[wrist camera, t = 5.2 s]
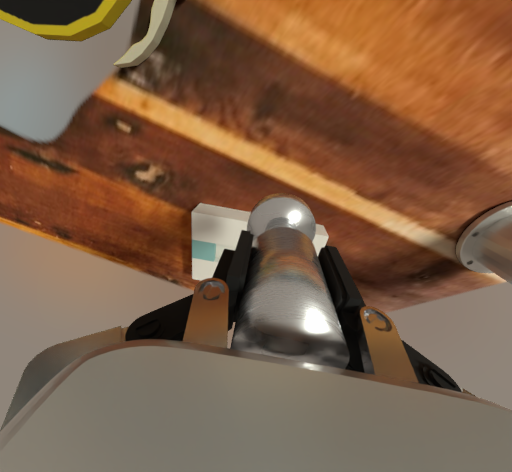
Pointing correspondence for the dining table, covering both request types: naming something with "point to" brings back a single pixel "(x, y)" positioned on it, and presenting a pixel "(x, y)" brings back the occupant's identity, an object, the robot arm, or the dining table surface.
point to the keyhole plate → (223, 236)
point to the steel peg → (287, 289)
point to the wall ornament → (85, 21)
